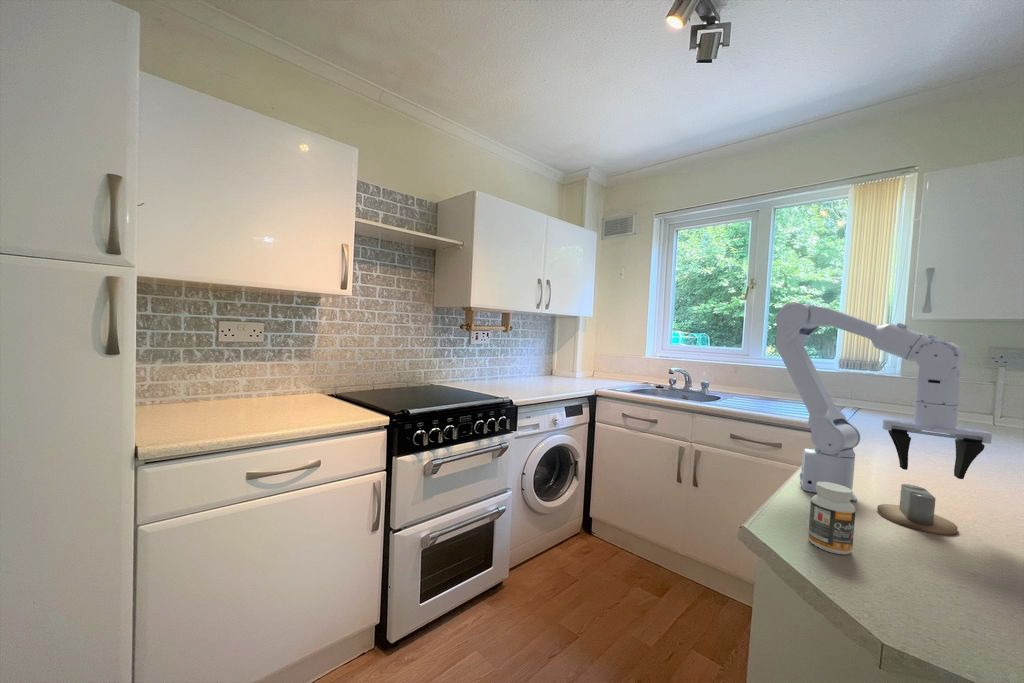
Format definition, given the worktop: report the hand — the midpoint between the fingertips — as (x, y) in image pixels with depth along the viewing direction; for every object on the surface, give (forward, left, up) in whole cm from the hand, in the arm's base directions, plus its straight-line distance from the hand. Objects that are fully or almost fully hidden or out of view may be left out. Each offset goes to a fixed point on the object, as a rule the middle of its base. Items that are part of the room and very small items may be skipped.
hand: (930, 472), depth 78 cm
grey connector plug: (-2, 0, -9) cm, 9 cm away
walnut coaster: (-2, -1, -9) cm, 10 cm away
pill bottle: (-18, -25, -10) cm, 32 cm away
